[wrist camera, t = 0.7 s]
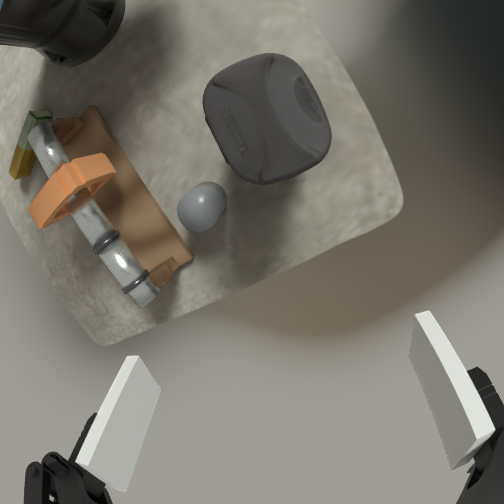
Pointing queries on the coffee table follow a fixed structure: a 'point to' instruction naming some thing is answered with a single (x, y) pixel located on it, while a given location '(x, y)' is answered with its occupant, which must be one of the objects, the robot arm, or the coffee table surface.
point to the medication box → (27, 145)
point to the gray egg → (202, 206)
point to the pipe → (95, 222)
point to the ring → (69, 187)
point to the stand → (126, 198)
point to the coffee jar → (267, 118)
